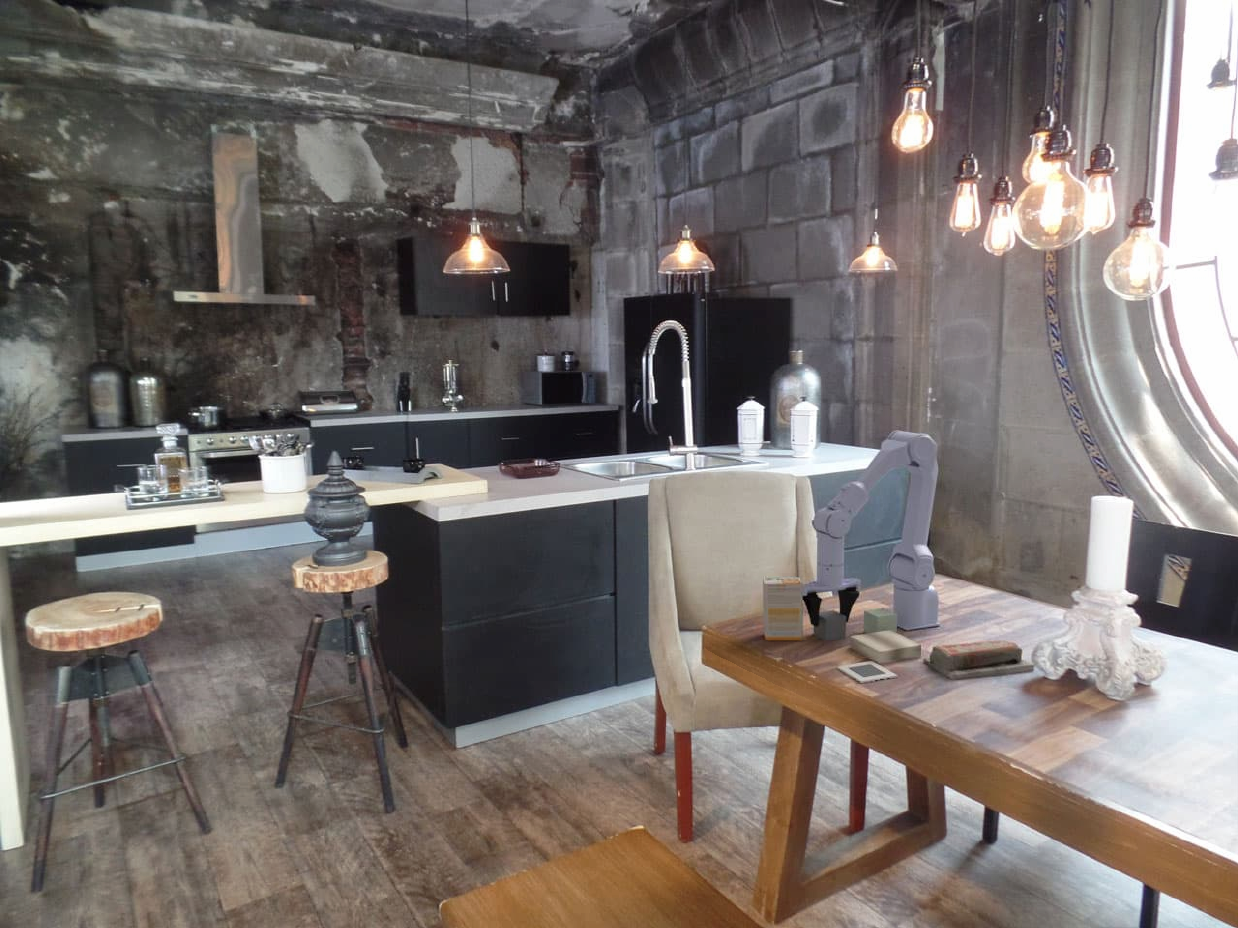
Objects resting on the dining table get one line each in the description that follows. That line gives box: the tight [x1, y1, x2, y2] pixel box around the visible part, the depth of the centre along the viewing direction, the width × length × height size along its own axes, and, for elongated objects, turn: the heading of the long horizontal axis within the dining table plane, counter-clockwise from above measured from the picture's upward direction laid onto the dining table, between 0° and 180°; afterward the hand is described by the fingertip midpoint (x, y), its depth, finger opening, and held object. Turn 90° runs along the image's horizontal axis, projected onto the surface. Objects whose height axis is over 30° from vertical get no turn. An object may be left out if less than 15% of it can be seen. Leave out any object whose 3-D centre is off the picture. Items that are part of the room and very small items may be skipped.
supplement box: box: [762, 577, 804, 641], centre depth 183 cm, size 8×5×13 cm, turn 84°
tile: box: [837, 660, 898, 684], centre depth 163 cm, size 8×8×1 cm
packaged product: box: [923, 640, 1035, 680], centre depth 165 cm, size 18×5×10 cm
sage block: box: [863, 607, 898, 634], centre depth 185 cm, size 5×5×5 cm
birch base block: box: [849, 630, 922, 665], centre depth 174 cm, size 10×10×3 cm
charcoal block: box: [813, 609, 847, 642], centre depth 184 cm, size 5×5×5 cm
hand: (829, 623), depth 184 cm, fingers open, 7 cm apart
